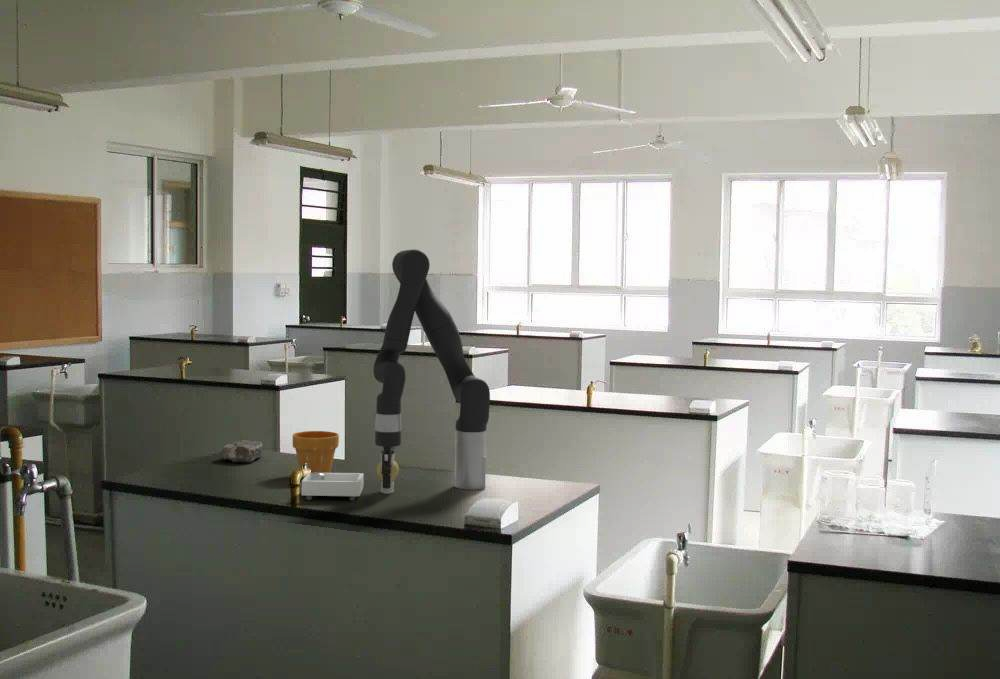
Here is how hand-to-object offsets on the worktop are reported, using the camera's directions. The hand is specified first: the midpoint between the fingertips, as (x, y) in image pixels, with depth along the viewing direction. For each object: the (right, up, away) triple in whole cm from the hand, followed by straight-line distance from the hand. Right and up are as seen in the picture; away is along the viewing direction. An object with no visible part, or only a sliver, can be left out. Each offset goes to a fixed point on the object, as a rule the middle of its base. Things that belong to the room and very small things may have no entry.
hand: (387, 485), depth 290 cm
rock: (-53, +2, +45) cm, 70 cm away
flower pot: (-25, 0, +22) cm, 33 cm away
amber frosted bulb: (0, -2, 0) cm, 2 cm away
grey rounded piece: (-19, 0, -6) cm, 20 cm away
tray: (-15, -2, -5) cm, 16 cm away
